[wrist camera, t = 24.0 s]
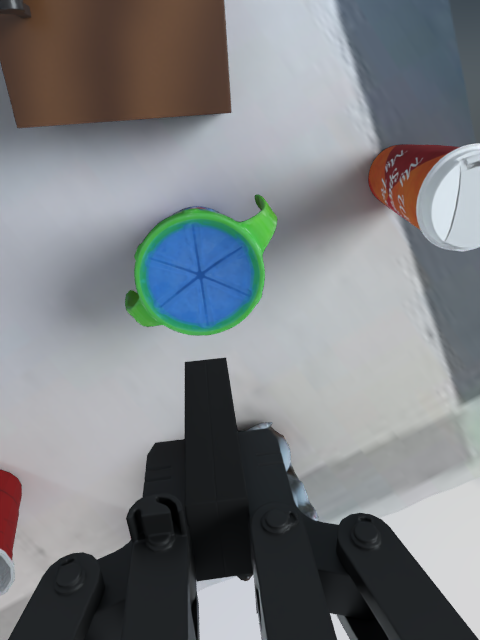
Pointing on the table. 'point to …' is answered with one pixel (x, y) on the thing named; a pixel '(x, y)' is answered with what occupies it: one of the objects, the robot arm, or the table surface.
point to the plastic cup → (8, 526)
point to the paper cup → (432, 190)
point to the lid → (113, 60)
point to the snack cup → (201, 270)
